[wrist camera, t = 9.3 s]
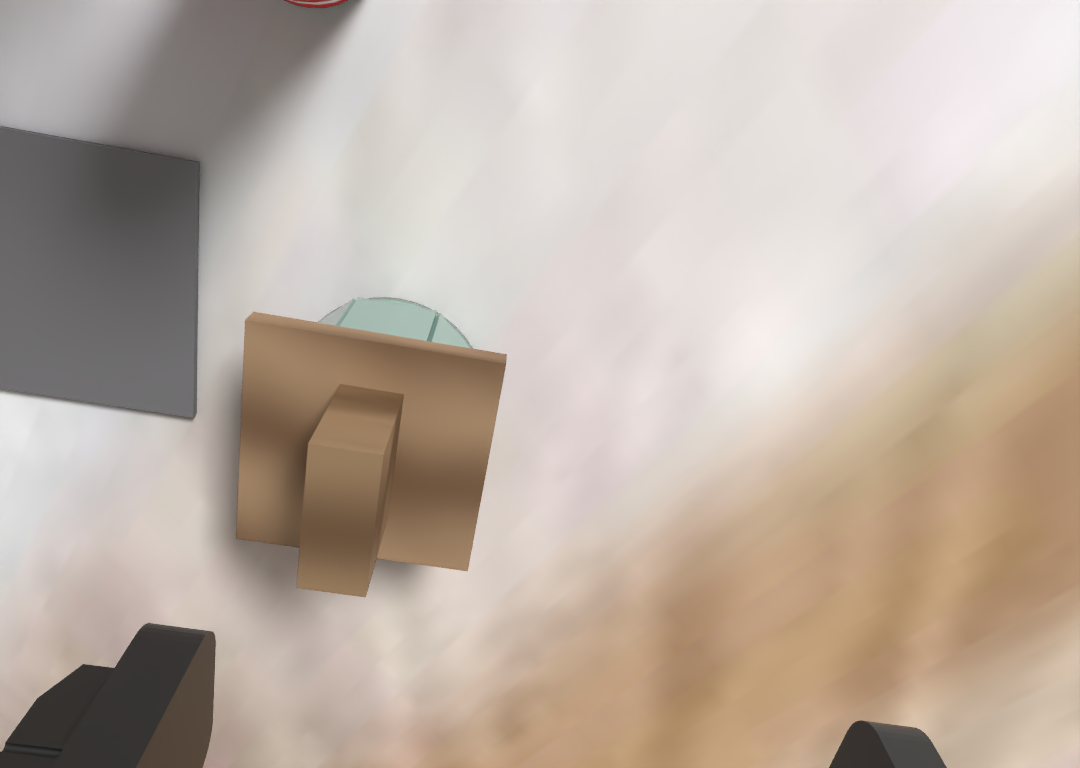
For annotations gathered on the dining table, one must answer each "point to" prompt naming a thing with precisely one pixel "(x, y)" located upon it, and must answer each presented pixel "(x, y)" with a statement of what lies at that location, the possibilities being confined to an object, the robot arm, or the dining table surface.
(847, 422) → the dining table surface
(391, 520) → the lid
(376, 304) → the bowl
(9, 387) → the mat
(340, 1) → the beverage can
